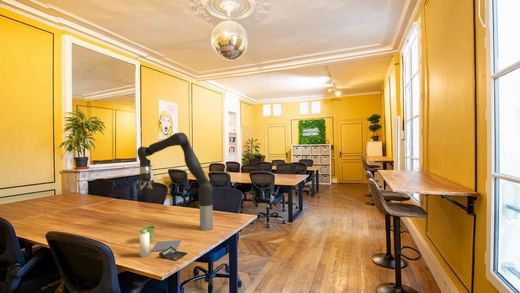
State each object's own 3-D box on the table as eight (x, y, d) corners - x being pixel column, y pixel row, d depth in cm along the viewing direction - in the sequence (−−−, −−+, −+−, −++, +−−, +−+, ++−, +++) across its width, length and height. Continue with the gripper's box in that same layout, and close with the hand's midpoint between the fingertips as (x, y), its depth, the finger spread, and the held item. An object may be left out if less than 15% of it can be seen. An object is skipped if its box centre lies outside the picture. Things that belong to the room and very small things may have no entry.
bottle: (150, 252, 137) (150, 228, 137) (148, 256, 132) (147, 231, 132) (141, 253, 136) (141, 229, 136) (138, 257, 131) (137, 232, 131)
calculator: (176, 261, 126) (175, 255, 126) (158, 258, 130) (158, 252, 130) (187, 254, 135) (187, 248, 135) (171, 251, 139) (171, 246, 139)
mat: (180, 241, 154) (180, 240, 154) (176, 250, 140) (176, 249, 140) (158, 242, 152) (157, 241, 152) (150, 251, 138) (150, 250, 138)
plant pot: (141, 245, 148) (141, 231, 148) (138, 241, 155) (138, 227, 155) (157, 242, 153) (157, 228, 153) (154, 237, 161) (153, 224, 161)
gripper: (140, 172, 175) (141, 195, 173) (156, 172, 188) (157, 193, 186) (133, 173, 178) (133, 195, 176) (149, 173, 191) (150, 193, 189)
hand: (145, 194), depth 181 cm, fingers open, 8 cm apart
